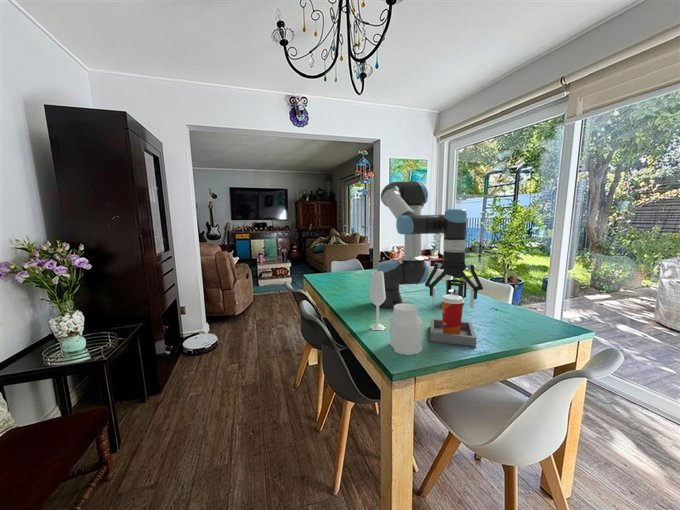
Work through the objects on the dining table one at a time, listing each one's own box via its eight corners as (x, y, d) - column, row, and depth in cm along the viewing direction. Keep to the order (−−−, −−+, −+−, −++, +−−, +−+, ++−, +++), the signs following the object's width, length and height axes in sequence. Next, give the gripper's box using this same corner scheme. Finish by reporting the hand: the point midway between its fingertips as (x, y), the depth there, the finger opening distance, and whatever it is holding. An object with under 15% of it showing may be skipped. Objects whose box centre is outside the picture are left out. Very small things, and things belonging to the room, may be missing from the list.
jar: (425, 354, 93) (425, 311, 91) (397, 356, 92) (398, 313, 90) (411, 339, 104) (412, 301, 102) (387, 341, 103) (387, 302, 101)
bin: (430, 341, 102) (430, 332, 102) (430, 326, 116) (431, 318, 116) (476, 347, 97) (476, 337, 96) (470, 330, 111) (471, 322, 111)
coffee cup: (445, 328, 112) (446, 292, 111) (466, 334, 107) (467, 296, 105) (436, 334, 107) (437, 297, 105) (457, 341, 101) (458, 301, 99)
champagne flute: (366, 328, 116) (366, 272, 112) (374, 323, 121) (374, 270, 118) (380, 332, 111) (380, 274, 108) (388, 326, 117) (388, 271, 114)
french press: (450, 306, 141) (451, 262, 138) (440, 301, 150) (441, 260, 147) (470, 305, 143) (472, 261, 140) (459, 300, 152) (461, 259, 149)
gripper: (418, 251, 103) (417, 305, 106) (493, 252, 95) (490, 312, 98) (420, 249, 110) (419, 300, 113) (489, 250, 102) (486, 305, 105)
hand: (452, 305), depth 105 cm, fingers open, 13 cm apart
